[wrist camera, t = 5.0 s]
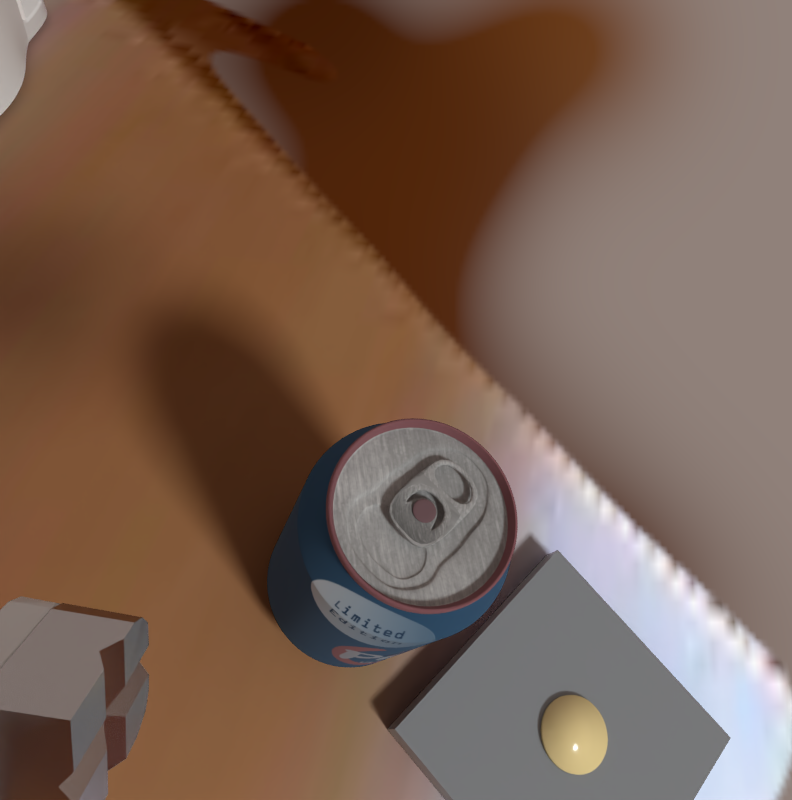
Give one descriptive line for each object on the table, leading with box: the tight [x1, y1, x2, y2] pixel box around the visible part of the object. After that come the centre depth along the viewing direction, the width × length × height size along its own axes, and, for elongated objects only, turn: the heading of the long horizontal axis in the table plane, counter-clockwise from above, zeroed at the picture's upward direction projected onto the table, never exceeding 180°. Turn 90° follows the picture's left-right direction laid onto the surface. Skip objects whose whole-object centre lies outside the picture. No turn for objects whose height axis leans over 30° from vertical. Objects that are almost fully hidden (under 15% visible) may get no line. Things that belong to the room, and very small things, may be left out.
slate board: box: [387, 550, 730, 800], centre depth 29 cm, size 11×11×1 cm
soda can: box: [267, 419, 517, 667], centre depth 25 cm, size 7×7×12 cm
